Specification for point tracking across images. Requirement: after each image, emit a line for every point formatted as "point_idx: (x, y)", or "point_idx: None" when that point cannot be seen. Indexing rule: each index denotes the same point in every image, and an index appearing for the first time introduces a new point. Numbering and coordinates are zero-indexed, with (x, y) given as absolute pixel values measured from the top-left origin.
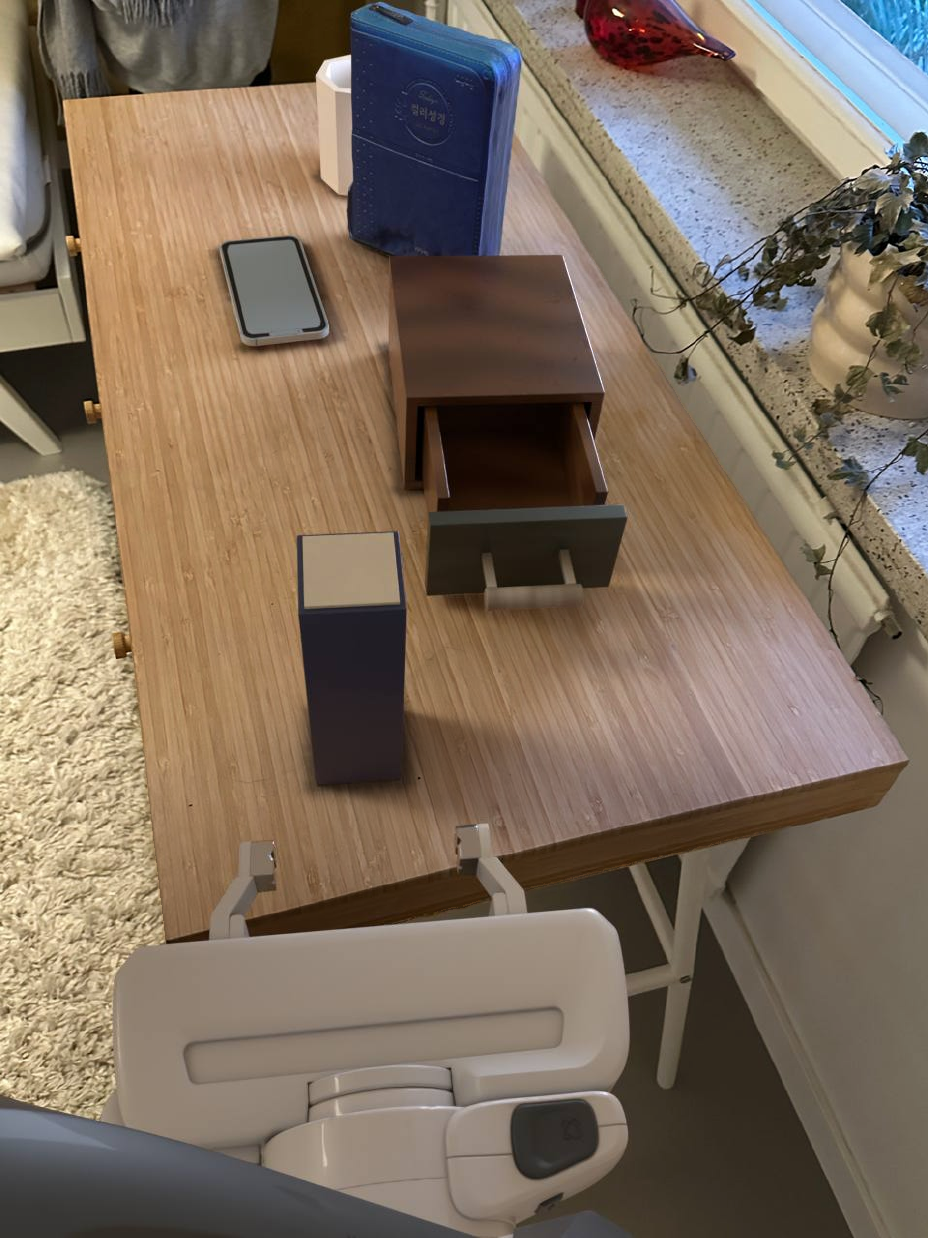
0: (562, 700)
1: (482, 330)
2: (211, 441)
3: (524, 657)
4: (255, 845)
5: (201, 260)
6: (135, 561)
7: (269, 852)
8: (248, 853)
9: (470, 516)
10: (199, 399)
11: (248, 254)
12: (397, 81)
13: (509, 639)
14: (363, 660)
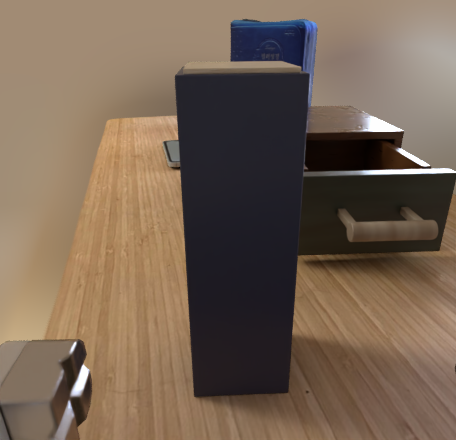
0: (434, 326)
1: (312, 119)
2: (142, 197)
3: (384, 296)
4: (36, 343)
5: (152, 148)
6: (74, 244)
7: (60, 355)
8: (11, 356)
9: (328, 173)
10: (139, 184)
11: (176, 143)
12: (254, 45)
13: (366, 285)
14: (253, 175)
